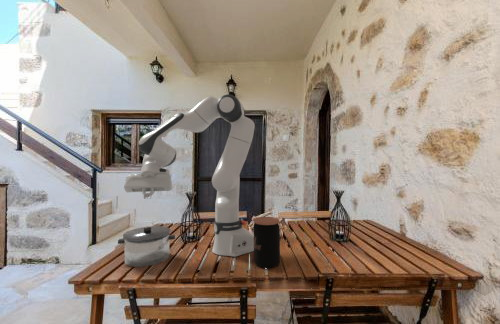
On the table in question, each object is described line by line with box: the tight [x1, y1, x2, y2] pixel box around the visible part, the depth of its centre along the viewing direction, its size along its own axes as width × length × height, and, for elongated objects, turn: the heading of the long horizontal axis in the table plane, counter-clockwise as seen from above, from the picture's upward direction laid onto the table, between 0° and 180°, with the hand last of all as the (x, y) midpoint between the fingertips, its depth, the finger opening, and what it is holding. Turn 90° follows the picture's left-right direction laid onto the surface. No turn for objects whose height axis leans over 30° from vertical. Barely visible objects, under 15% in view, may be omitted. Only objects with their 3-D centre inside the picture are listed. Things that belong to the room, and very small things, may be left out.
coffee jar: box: [253, 216, 281, 269], centre depth 101 cm, size 11×11×18 cm
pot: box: [117, 234, 176, 268], centre depth 108 cm, size 18×23×10 cm
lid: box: [122, 225, 171, 241], centre depth 108 cm, size 20×19×3 cm
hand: (147, 197), depth 109 cm, fingers closed
